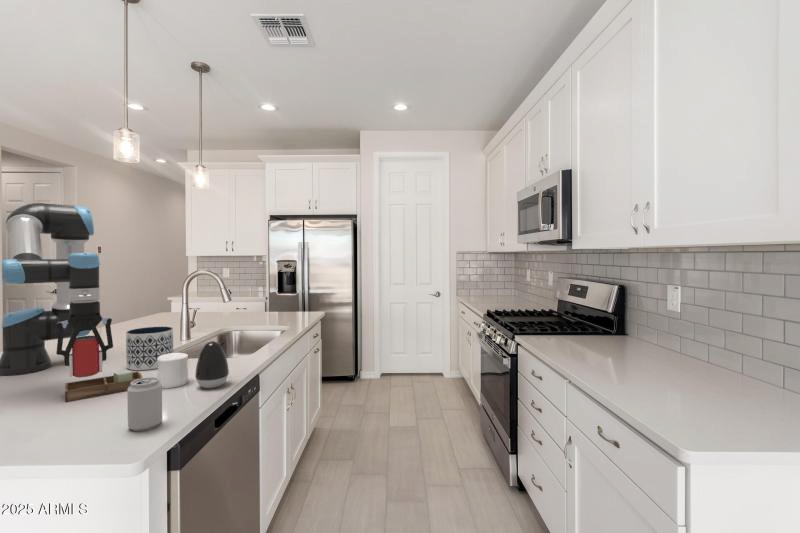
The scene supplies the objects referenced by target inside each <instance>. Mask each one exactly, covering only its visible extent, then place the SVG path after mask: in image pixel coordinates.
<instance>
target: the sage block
mask: <svg viewBox="0 0 800 533" xmlns="http://www.w3.org/2000/svg"><path fill="white" fill-rule="evenodd" d="M113 376H114V383H116V382H122V381H128V380H133V371H132V370H131V371H130V369H125V370H121V371H117V372H116V371H115V372H113Z"/></svg>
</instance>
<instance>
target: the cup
mask: <svg viewBox="0 0 800 533" xmlns="http://www.w3.org/2000/svg"><path fill="white" fill-rule="evenodd" d="M188 358H189V355H188V354H187V353H183V352H173V353H169V354H164V355H161V356H159V357H158V359H157V361H158V369H157V373H156V374H157V376H156V378H159V382H160V383H162V389H174V388H179V387H182V386H185V385H187V383H188V380H189V369H188Z"/></svg>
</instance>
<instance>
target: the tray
mask: <svg viewBox="0 0 800 533" xmlns="http://www.w3.org/2000/svg"><path fill="white" fill-rule="evenodd" d="M132 372H133V371H132ZM141 378H144V377H143V375H142V373H141V372H140V371H134V372H133V380H128V381H122V382H116V383H114V375H107V376H104V377H95V378H90V379H83V380H77V381H72V382H66V383H64V386H65V387H64V398H65V399H64V401H65V403H68V402H69V401H70V402H73V401H74V402H75V401H79V400H80V401H81V400H86V399H91V398H95V397H96V398H97V397H100V396H101V397H102V396H106V395H112V394H117V393H118V394H119V393H123V392H127V389H128V388H129V387H130V386H131V384H130V383H131V382H132V381H134V380H137V379H141Z"/></svg>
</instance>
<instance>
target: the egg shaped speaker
mask: <svg viewBox="0 0 800 533" xmlns="http://www.w3.org/2000/svg"><path fill="white" fill-rule="evenodd" d="M225 345H226V341H225V340H223V341H221V342H217V341H208V342H207V343H205V344H204V345H203V347H202V349H201V351H200V353H199V355H198V359H197V361H196V362H197V363H196V367H195V375H194V376H195V379H196V382H197V384H198V385H199V386H200V387H201V388H204V389H216V388H218V387H221V386H222V385H223V384H225V382H227V379H228V376H229V374H230V371H229V363H228V358H227V357H226V353H225V351H224V349H223V346H225Z"/></svg>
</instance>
